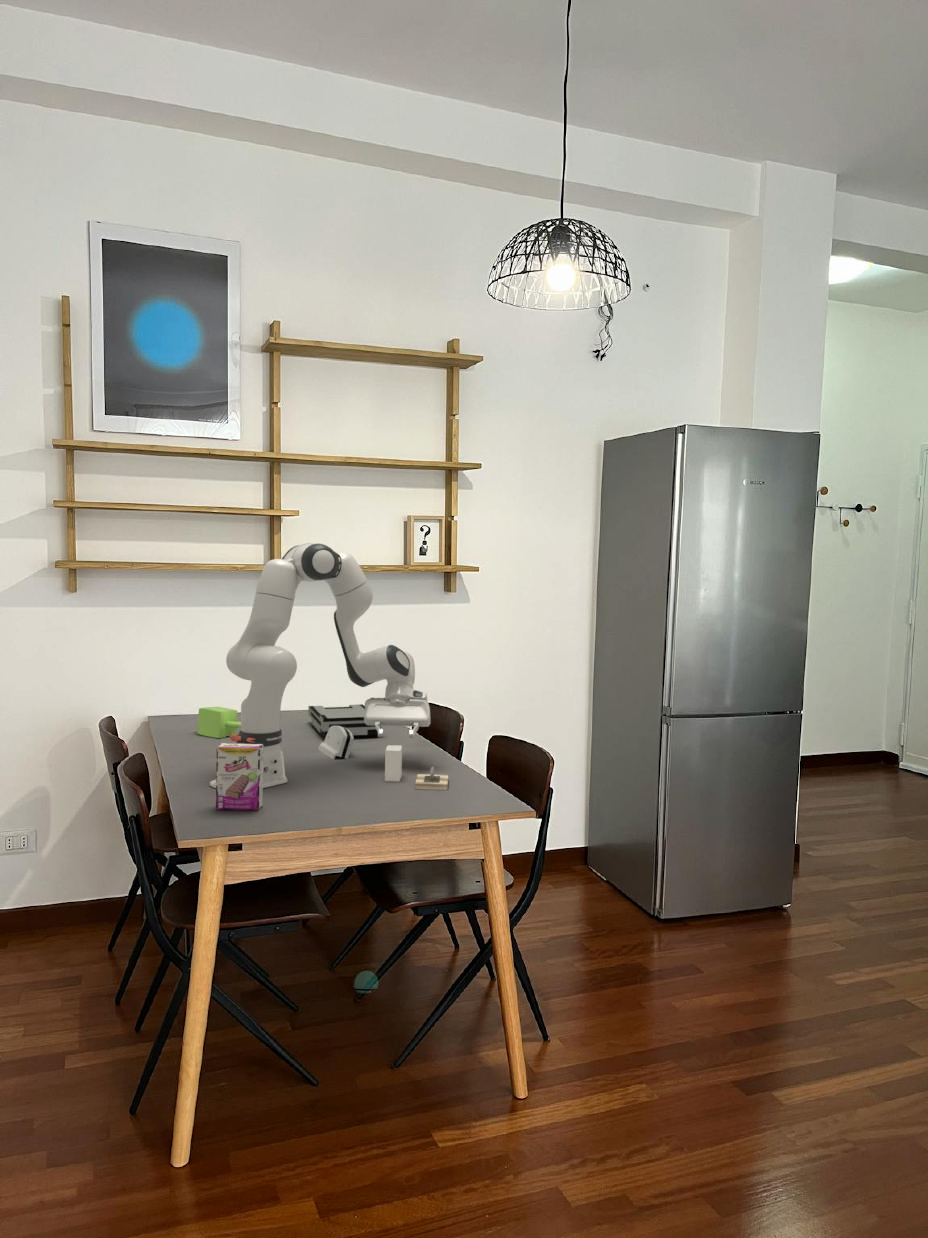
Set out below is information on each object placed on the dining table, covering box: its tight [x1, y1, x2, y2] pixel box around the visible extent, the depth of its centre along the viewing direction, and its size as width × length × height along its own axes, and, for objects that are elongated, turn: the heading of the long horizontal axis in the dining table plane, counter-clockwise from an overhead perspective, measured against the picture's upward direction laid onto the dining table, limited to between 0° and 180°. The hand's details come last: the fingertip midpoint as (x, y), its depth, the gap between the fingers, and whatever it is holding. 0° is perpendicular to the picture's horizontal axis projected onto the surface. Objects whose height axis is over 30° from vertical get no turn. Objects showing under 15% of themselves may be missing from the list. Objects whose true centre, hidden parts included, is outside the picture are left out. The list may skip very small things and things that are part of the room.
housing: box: [384, 744, 403, 782], centre depth 272 cm, size 7×4×9 cm, turn 179°
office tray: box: [307, 704, 383, 740], centre depth 339 cm, size 21×32×8 cm, turn 18°
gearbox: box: [197, 706, 241, 739], centre depth 327 cm, size 18×10×10 cm, turn 59°
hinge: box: [317, 726, 355, 761], centre depth 302 cm, size 17×5×10 cm, turn 26°
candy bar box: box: [215, 742, 264, 811], centre depth 238 cm, size 11×5×16 cm, turn 92°
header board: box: [414, 766, 449, 791], centre depth 266 cm, size 11×9×5 cm
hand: (396, 736), depth 279 cm, fingers open, 8 cm apart
